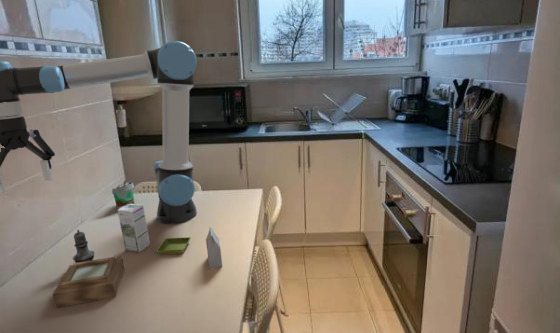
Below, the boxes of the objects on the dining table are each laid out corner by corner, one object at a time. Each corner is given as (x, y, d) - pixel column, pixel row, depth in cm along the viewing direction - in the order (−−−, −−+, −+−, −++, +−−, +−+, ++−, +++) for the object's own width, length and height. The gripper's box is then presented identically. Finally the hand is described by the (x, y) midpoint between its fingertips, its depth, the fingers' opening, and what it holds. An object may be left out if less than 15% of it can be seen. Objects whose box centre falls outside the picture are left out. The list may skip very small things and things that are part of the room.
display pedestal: (124, 268, 106) (121, 253, 104) (115, 296, 93) (112, 279, 91) (73, 277, 103) (69, 261, 101) (56, 307, 89) (51, 289, 88)
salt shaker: (87, 271, 105) (79, 234, 102) (70, 270, 107) (61, 233, 103) (101, 261, 111) (93, 225, 108) (84, 260, 112) (76, 225, 109)
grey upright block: (220, 255, 110) (216, 225, 108) (222, 266, 104) (218, 235, 101) (208, 257, 109) (204, 227, 107) (209, 268, 103) (205, 237, 100)
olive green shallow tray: (157, 256, 112) (156, 250, 112) (166, 243, 121) (165, 238, 120) (184, 255, 112) (183, 249, 111) (192, 242, 120) (191, 237, 120)
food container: (130, 211, 151) (126, 188, 148) (115, 211, 151) (111, 189, 148) (141, 200, 163) (138, 179, 160) (128, 201, 163) (124, 180, 160)
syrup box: (150, 244, 120) (144, 203, 116) (138, 252, 115) (131, 210, 111) (137, 242, 122) (129, 202, 118) (124, 250, 117) (116, 209, 113)
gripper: (41, 111, 116) (57, 174, 122) (-51, 124, 94) (-27, 200, 100) (57, 111, 113) (72, 175, 119) (-35, 124, 91) (-11, 202, 97)
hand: (27, 186), depth 109 cm, fingers open, 13 cm apart
